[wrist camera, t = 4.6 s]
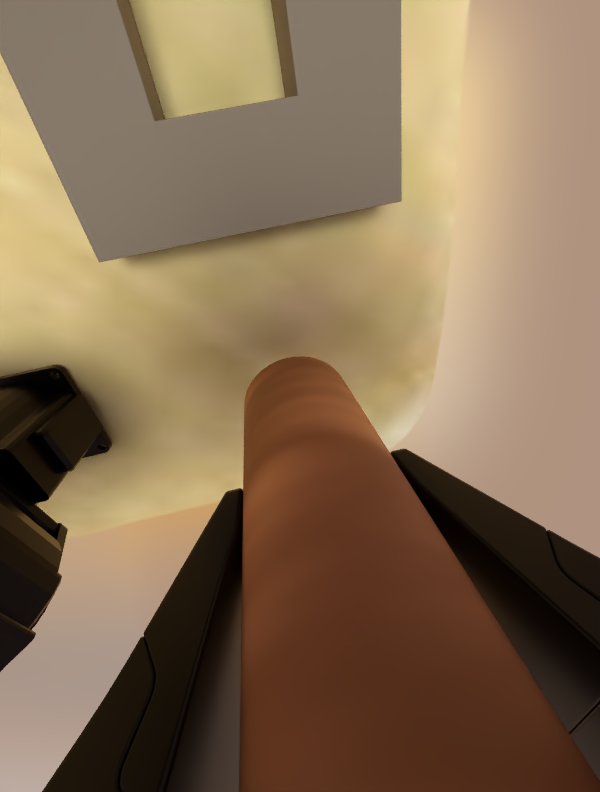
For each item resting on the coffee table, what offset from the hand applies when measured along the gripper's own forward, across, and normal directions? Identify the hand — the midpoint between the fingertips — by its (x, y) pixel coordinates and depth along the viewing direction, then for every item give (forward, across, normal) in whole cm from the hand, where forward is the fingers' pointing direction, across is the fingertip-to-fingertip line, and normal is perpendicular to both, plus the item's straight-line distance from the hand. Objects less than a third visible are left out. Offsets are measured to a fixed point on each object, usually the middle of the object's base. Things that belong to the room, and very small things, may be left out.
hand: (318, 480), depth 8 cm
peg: (+4, 0, 0) cm, 4 cm away
